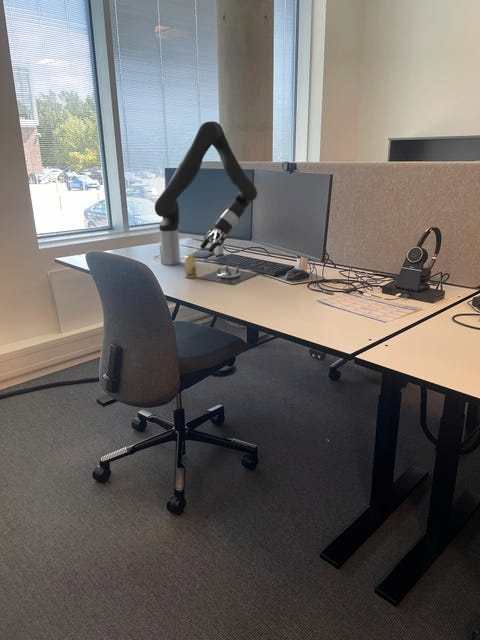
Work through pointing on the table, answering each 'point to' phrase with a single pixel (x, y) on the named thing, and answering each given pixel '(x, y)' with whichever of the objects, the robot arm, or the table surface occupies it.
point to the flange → (228, 276)
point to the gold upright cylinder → (190, 266)
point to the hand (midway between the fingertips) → (205, 249)
